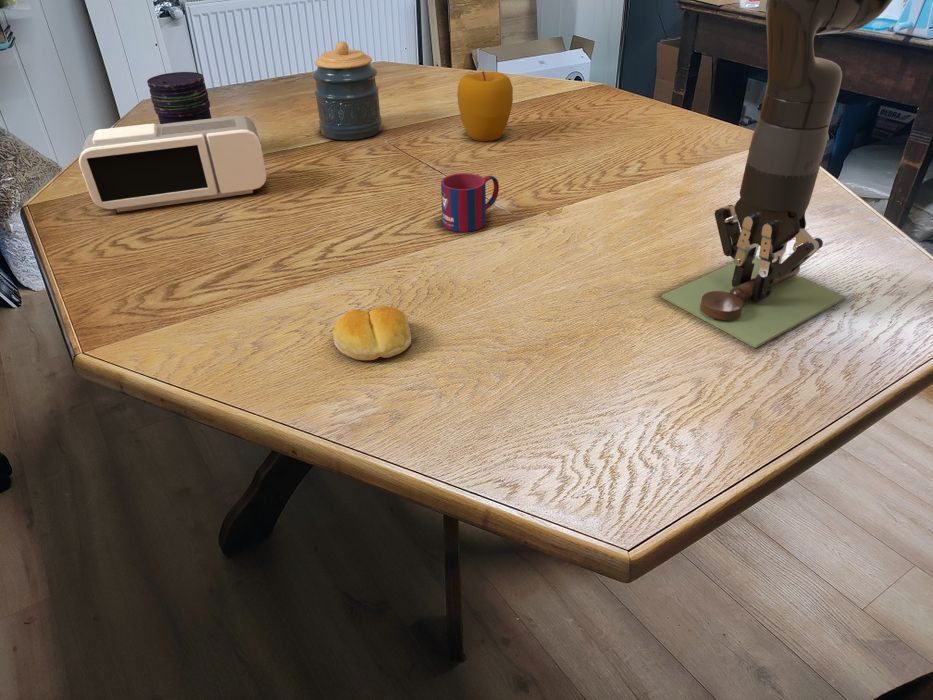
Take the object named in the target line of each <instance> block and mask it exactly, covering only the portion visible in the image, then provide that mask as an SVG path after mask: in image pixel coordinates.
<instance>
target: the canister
mask: <svg viewBox="0 0 933 700" xmlns="http://www.w3.org/2000/svg"><path fill="white" fill-rule="evenodd" d="M372 61H373V59H372V57H371V56H370V55H368V54H366V53H365V52H364V51H363V50H360V49H351V48H349V44H348V43H347V42H345V41H343V40H341V41H337V42H336V43H335V47H334V50H329V51H326V52H323V53H321V55H320V56H319V57H318V58H316V59H315V61H314V64H315V66H316V69H315V70H314V71H313V72H312V75H311V76H312V78H313V79H314V80H315V86H316V87H315V90H314V95H315V97H316V105H317V112H318V118H319V119H318V124H319V129H320V132H321V134H322V135H323V136H324V137H326V138H328V139H332V140H338V141H339V140H340V141H353V140H355V141H356V140H361V139H367V138H370V137H373V136H376V135H377V134H379V133H380V132H381V130H382V124H383V121H382V116H381V110H380V109H381V107H380V99H379V96H380V95H379V86H378V85H377V82H376V76H377V73H378V70H377V68H375V67H374V66H373V65H371V62H372Z"/></svg>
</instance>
